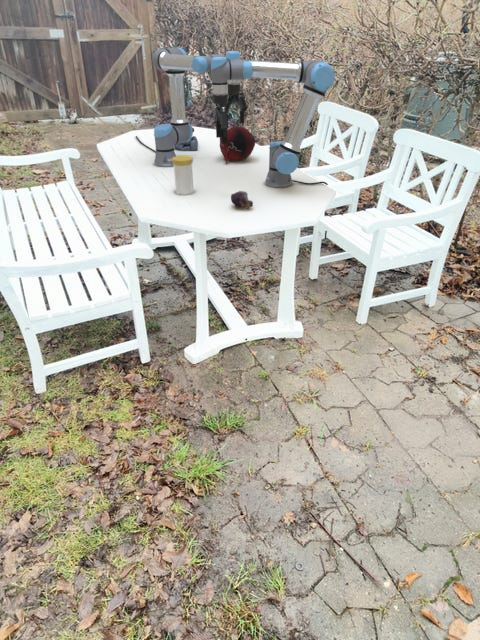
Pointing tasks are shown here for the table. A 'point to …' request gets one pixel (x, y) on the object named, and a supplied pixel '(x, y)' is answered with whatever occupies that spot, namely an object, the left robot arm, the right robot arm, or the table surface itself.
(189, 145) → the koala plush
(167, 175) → the table surface
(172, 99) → the left robot arm
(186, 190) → the jar
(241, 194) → the rock
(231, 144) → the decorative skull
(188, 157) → the lid
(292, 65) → the right robot arm
